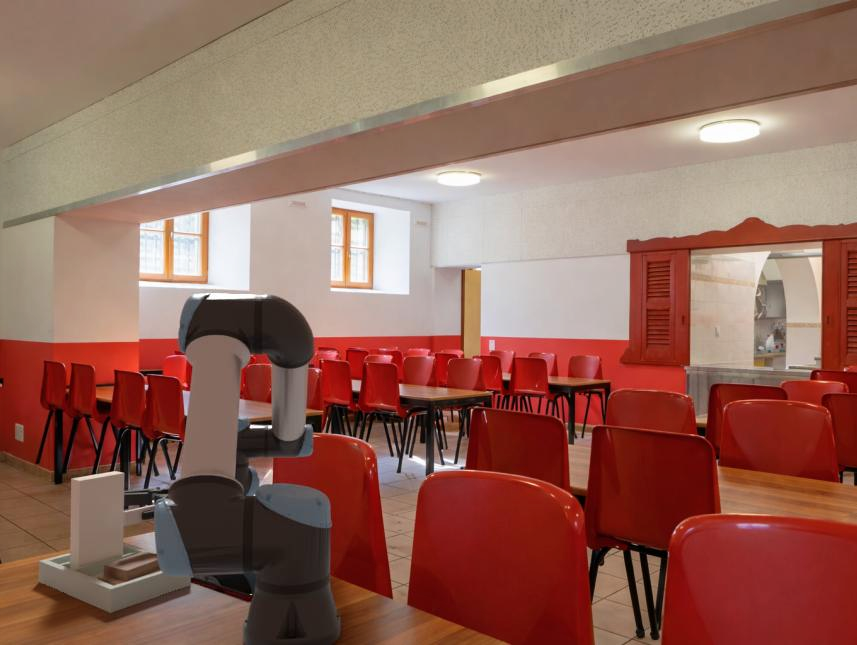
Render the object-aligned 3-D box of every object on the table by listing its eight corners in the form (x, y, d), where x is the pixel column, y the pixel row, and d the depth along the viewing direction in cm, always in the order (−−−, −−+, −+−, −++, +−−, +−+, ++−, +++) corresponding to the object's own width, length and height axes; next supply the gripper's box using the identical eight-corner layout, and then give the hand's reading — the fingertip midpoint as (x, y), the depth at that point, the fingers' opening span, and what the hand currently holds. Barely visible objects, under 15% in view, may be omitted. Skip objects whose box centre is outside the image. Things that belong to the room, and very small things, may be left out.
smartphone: (214, 553, 151) (300, 576, 137) (214, 561, 151) (300, 584, 137) (164, 569, 141) (251, 595, 126) (164, 577, 141) (250, 604, 126)
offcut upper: (166, 566, 134) (167, 556, 134) (126, 582, 126) (127, 570, 126) (144, 561, 137) (144, 551, 137) (103, 576, 129) (103, 565, 129)
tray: (190, 585, 134) (190, 564, 134) (110, 612, 121) (110, 589, 121) (117, 559, 148) (118, 540, 148) (38, 582, 135) (39, 560, 135)
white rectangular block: (123, 564, 141) (124, 473, 141) (78, 577, 133) (79, 480, 133) (114, 561, 142) (115, 471, 142) (69, 574, 135) (71, 478, 135)
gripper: (233, 519, 150) (141, 544, 132) (162, 501, 164) (70, 521, 147) (233, 483, 150) (142, 503, 132) (162, 468, 164) (71, 484, 147)
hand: (104, 513), depth 139 cm, fingers open, 13 cm apart
